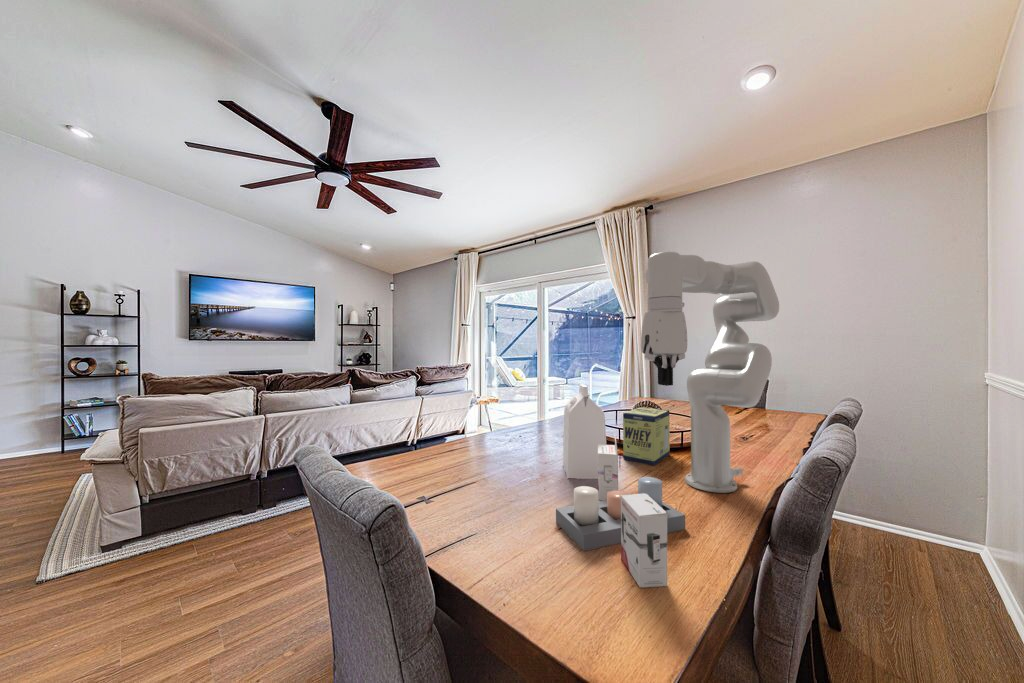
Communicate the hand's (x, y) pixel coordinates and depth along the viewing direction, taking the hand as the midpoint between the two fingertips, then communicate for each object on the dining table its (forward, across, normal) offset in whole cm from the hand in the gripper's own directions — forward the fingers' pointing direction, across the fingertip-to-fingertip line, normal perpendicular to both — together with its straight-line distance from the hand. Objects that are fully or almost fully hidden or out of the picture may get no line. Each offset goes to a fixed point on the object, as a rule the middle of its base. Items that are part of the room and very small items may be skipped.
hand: (665, 384), depth 88 cm
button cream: (+26, +23, +3) cm, 35 cm away
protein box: (+29, -22, -34) cm, 50 cm away
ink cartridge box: (+29, +8, -12) cm, 33 cm away
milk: (+29, +5, -29) cm, 42 cm away
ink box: (+29, +21, +18) cm, 40 cm away
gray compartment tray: (+29, +15, +3) cm, 33 cm away
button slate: (+27, +7, +3) cm, 28 cm away
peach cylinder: (+29, +15, +3) cm, 32 cm away
